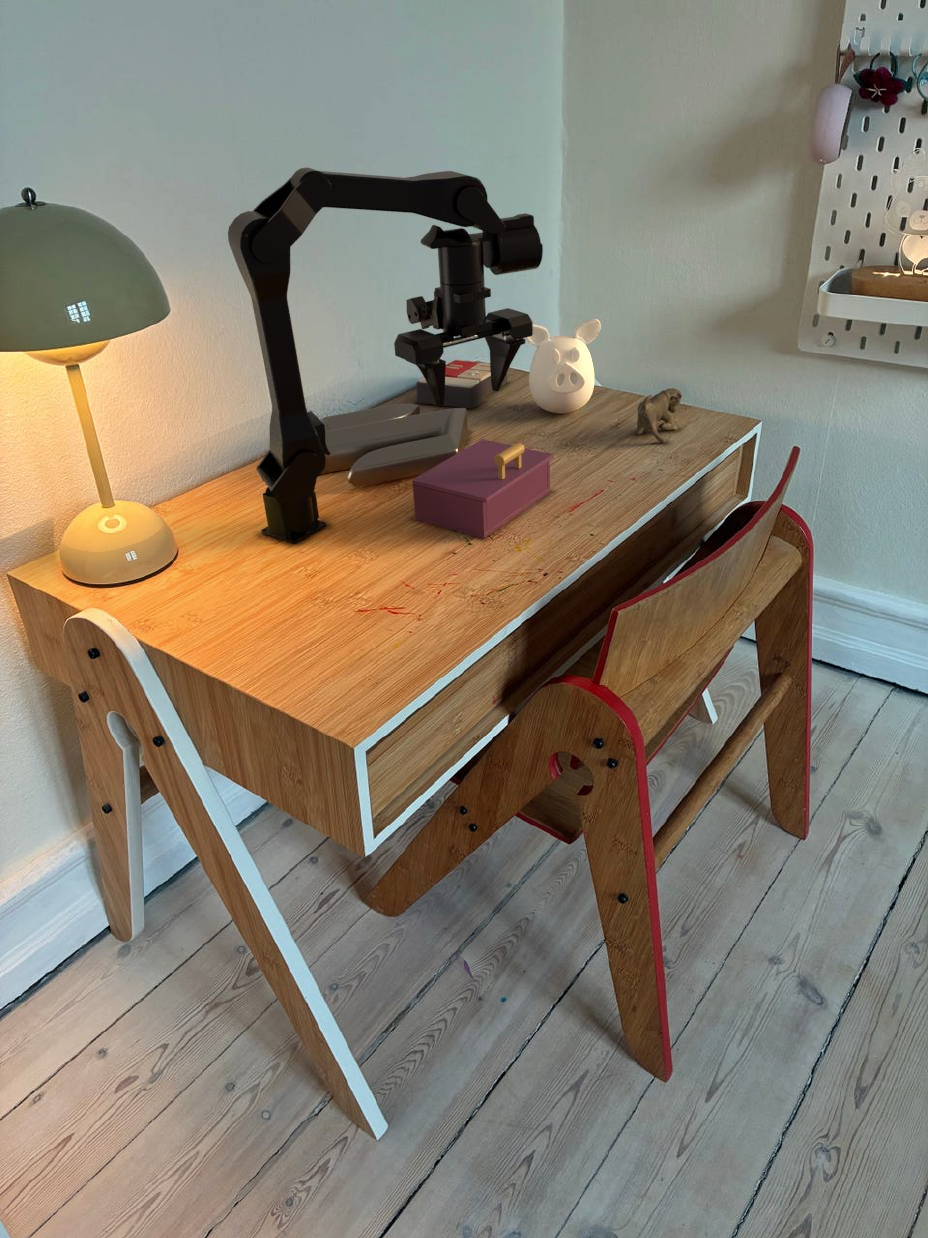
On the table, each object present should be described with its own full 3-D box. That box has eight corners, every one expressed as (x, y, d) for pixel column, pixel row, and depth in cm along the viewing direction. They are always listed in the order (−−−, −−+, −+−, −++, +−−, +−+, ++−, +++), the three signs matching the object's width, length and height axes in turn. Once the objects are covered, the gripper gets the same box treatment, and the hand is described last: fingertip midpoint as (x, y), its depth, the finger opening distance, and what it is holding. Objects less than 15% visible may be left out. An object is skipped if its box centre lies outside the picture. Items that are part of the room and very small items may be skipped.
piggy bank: (545, 429, 157) (545, 336, 149) (516, 407, 166) (514, 319, 159) (613, 415, 161) (616, 324, 153) (581, 395, 170) (582, 308, 162)
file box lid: (553, 458, 133) (553, 430, 131) (486, 502, 122) (485, 473, 120) (482, 442, 140) (481, 416, 138) (412, 483, 129) (409, 455, 126)
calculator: (507, 362, 176) (471, 384, 164) (507, 386, 178) (472, 409, 166) (453, 357, 180) (415, 378, 169) (454, 380, 182) (416, 402, 171)
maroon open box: (550, 492, 137) (549, 457, 134) (484, 538, 125) (482, 502, 123) (483, 476, 142) (482, 443, 140) (415, 519, 131) (412, 484, 129)
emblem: (376, 381, 166) (510, 408, 151) (379, 411, 168) (510, 441, 153) (254, 434, 147) (392, 471, 132) (260, 466, 150) (396, 506, 135)
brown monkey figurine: (659, 447, 148) (662, 400, 144) (625, 441, 151) (627, 395, 147) (691, 422, 156) (694, 377, 152) (658, 416, 159) (661, 372, 155)
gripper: (484, 258, 134) (489, 369, 142) (367, 282, 125) (379, 399, 133) (534, 271, 126) (536, 388, 134) (413, 297, 117) (422, 421, 125)
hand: (468, 398), depth 132 cm, fingers open, 9 cm apart
